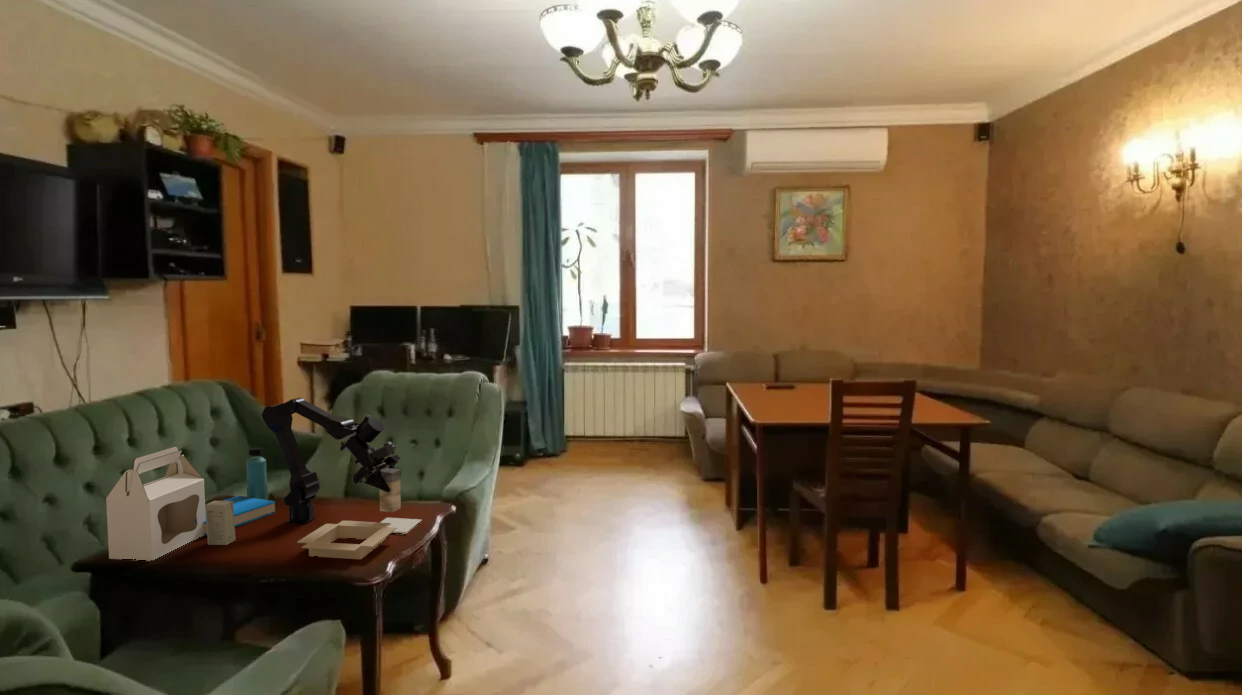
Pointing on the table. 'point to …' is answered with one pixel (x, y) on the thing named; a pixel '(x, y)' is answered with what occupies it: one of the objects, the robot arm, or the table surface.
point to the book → (247, 510)
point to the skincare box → (220, 522)
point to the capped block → (392, 498)
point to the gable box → (155, 508)
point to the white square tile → (401, 524)
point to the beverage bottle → (256, 475)
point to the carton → (328, 533)
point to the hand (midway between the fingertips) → (394, 489)
